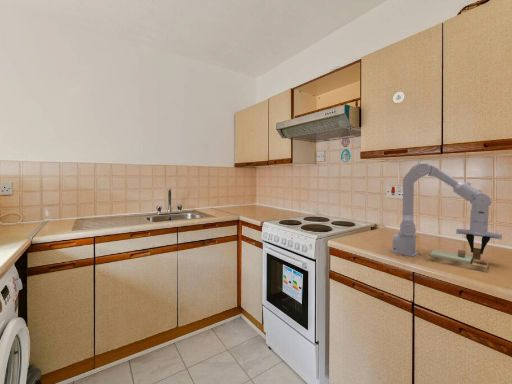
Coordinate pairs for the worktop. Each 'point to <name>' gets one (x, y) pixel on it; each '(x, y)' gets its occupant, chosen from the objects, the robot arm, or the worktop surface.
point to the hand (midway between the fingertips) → (476, 252)
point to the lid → (452, 255)
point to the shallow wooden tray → (462, 263)
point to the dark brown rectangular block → (476, 253)
